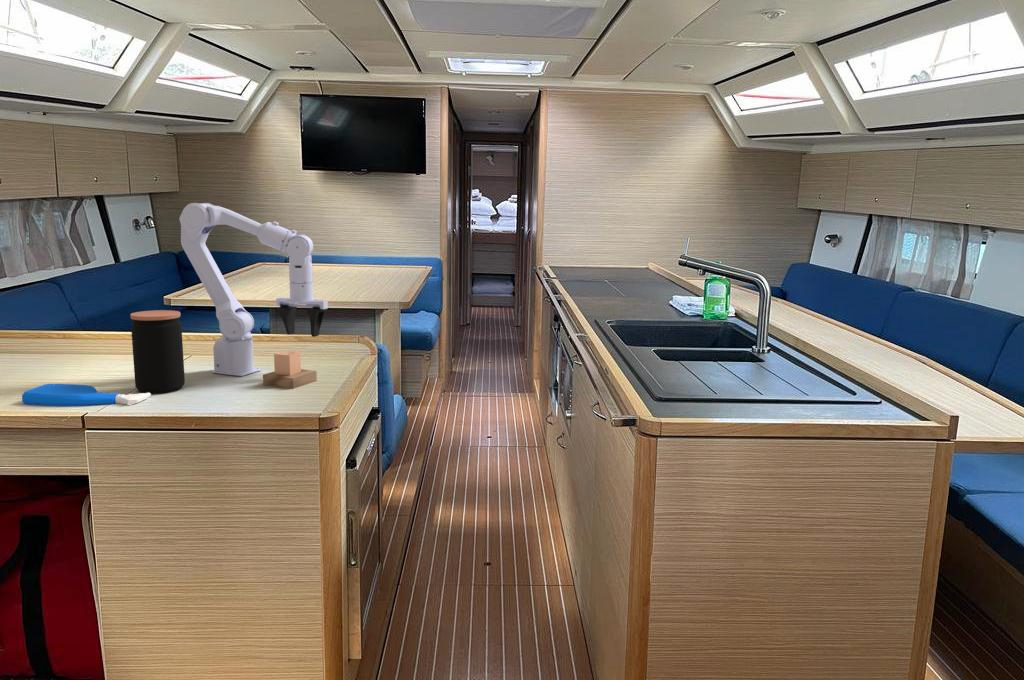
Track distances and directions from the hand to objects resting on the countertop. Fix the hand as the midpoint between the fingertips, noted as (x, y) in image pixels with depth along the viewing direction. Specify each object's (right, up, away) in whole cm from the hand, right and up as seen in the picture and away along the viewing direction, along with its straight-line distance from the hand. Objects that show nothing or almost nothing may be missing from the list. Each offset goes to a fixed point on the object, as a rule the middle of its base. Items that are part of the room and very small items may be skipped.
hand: (302, 335), depth 199 cm
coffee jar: (-29, -13, -18) cm, 36 cm away
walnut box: (0, -12, -10) cm, 16 cm away
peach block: (-1, -9, -10) cm, 14 cm away
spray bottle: (-39, -15, -29) cm, 51 cm away
